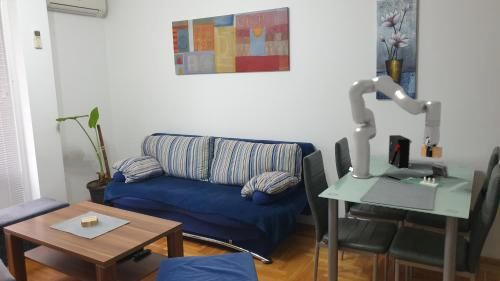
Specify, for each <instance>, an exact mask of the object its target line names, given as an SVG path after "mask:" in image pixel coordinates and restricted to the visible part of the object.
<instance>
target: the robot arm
mask: <svg viewBox="0 0 500 281" xmlns="http://www.w3.org/2000/svg"><path fill="white" fill-rule="evenodd" d="M378 92H379V93H380V92H381V93H382V94H384V95H385V96H387V97H388V98H389V99H391V100H392V101H394V103H396V105H397V106H398V107H399V108H401V109H402V110H403V111H404V112H405V111H406V112H407V113H408V114H411V115H414V116H416V115H420V114H421V115H422V114H425V115H424V116H425V118H424V119H425V120H424V122H425V123H424V126H425V127H424V130H423V138H422V139H423V141H422V143H423V144H424V145H425V147H426V157H425V158H432V146H435V147H438V144H439V142H440V134H441V133H440V132H441V131H440V127H441V119H442V118H441V113H442V102H441V101H439V100H423V99H422V100H421V99H419V100H415V99H413V98H412V97H410V96H409V95H408V94H407V93H406V92H405V90H404V88H403V87H402V86H401V85H399V84H397V83H396V82H394V79H393V78H392V77H391V76H390V75H386V74H385V75H384V74H383V75H378V76H376V77H374V78H371V79H360V80H359V79H358V80H356V81H355V82H353V83H352V84H351V85H350V87H349V89H348V98H349V102H350V110H351V116H352V121H353V122H354V124H355V125H360V126H359V127H356V128H355V130H354V131H353V134H352V138H353V145H354V146H353V147H354V151H353V153H354V154H353V167H349V169H348V171H349V172H351V175H350V176H351V178H352V177H353V178H356V179H370V178H372V176H373V174H372V173H370V164H371V144H370V140H373V139H374V138H375V137H376V135H377V125H376V121H375V120H376V119H375V114H374V113H373V111H372V110H371V108H367V107H366V101H365V98H364V97H363V95H365V94H372V93H378Z"/></svg>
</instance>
